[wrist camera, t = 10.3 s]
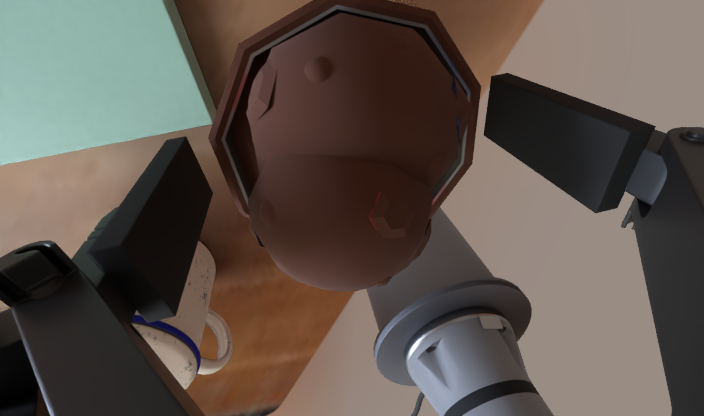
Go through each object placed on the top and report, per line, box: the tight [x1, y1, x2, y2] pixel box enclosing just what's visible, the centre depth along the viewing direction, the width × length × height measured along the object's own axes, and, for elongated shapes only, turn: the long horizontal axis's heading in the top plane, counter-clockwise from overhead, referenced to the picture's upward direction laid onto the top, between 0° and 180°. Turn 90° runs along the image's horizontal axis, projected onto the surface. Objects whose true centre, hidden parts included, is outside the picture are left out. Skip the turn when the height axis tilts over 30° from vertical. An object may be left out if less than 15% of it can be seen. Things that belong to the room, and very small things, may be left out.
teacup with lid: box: [131, 241, 232, 390], centre depth 21 cm, size 12×9×12 cm
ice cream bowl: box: [209, 0, 481, 292], centre depth 14 cm, size 11×11×15 cm
